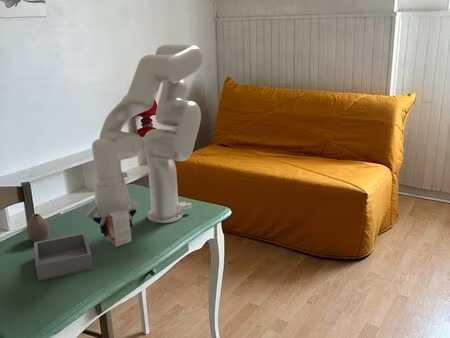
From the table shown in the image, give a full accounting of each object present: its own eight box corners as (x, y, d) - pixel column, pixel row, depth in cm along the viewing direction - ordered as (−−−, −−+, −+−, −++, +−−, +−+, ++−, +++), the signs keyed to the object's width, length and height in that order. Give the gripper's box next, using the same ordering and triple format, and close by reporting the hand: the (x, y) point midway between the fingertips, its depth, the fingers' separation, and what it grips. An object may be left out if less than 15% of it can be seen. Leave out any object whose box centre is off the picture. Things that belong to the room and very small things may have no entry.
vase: (43, 245, 145) (39, 220, 142) (23, 244, 146) (19, 219, 143) (55, 235, 151) (51, 211, 148) (36, 234, 153) (32, 210, 150)
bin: (86, 247, 143) (84, 232, 142) (93, 269, 131) (91, 254, 129) (36, 257, 138) (34, 242, 136) (38, 281, 125) (35, 265, 124)
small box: (104, 238, 146) (99, 208, 142) (120, 232, 149) (116, 202, 146) (116, 247, 140) (111, 216, 137) (132, 241, 144) (128, 210, 140)
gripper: (135, 170, 144) (141, 221, 150) (78, 180, 138) (87, 233, 144) (141, 178, 138) (147, 231, 144) (81, 189, 131) (90, 243, 138)
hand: (117, 231), depth 144 cm, fingers closed on small box, 6 cm apart
